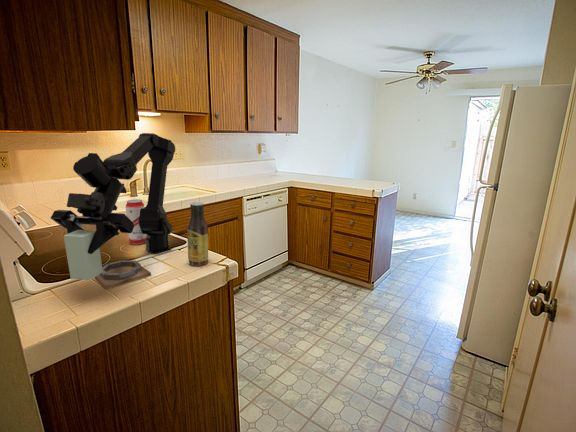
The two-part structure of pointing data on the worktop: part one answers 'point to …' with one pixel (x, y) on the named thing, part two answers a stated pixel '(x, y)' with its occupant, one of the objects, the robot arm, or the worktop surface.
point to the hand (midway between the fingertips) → (79, 252)
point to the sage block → (82, 255)
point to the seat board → (113, 283)
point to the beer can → (135, 221)
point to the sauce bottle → (197, 236)
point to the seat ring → (120, 275)
